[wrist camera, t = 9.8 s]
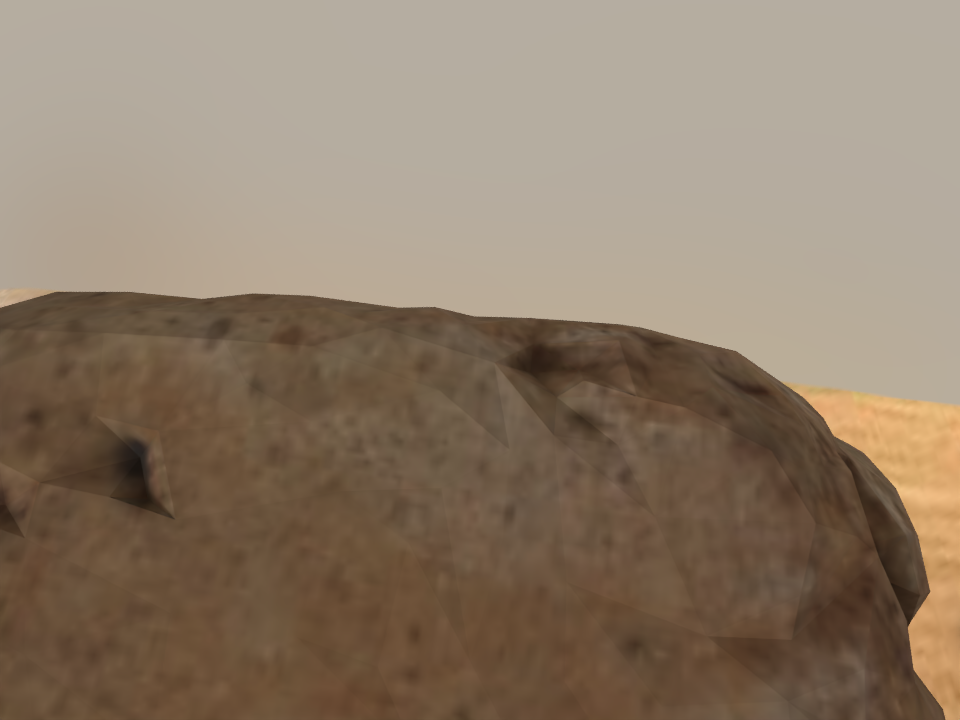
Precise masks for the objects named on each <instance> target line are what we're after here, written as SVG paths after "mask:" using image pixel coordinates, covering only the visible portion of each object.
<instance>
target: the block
mask: <svg viewBox="0 0 960 720" xmlns="http://www.w3.org/2000/svg"><path fill="white" fill-rule="evenodd" d="M929 593H930V589H929V584H928V580H927V575H926V571H925V566H924V562H923V557H922V553H921V548H920V544H919V539H918V535H917V533H916V531H915V529H914V527H913V525H912V522H911V520H910V518H909V516H908V514H907V512H906V509H905V507H904V505H903V503H902V501H901V499H900V496H899V494H898V492H897V490H896V488H895V487H894V486H893V485H892V484H891V482H890V481H889V480H888V479H887V478H886V477H885V476H884V475H883V474H882V472H881V471H880V470H879V469H878V468H877V467H876V466H875V465H874V464H873V463H872V461H871V460H870V459H869V458H868V457H867V456H866V455H865V454H864V453H863V452H861V451H859V450H858V449H856V448H854V447H853V446H851V445H849V444H848V443H846V442H844V441H842V440H840V439H838V438H836V437H834V436H833V434H832V432H831V431H830V429H829V427H828V425H827V424H826V422H825V420H824V418H823V417H822V416H821V415H820V414H819V413H818V412H817V411H816V410H815V409H814V408H813V407H812V406H811V405H810V404H809V403H808V402H807V401H806V400H805V399H804V398H803V397H802V396H800V395H799V394H797V393H796V392H794V391H793V390H792V389H790V388H789V387H787V386H786V385H784V384H783V383H781V382H780V381H779V380H777V379H776V378H774V377H773V376H771V375H770V374H768V373H767V372H766V371H764V370H763V369H761V368H760V367H758V366H757V365H755V364H754V363H752V362H751V361H750V360H748V359H747V358H745V357H744V356H742V355H741V354H739V353H738V352H736V351H733V350H729V349H724V348H720V347H716V346H712V345H708V344H703V343H699V342H695V341H691V340H687V339H683V338H678V337H674V336H670V335H667V334H663V333H659V332H656V331H652V330H648V329H644V328H640V327H633V326H626V325H618V324H606V323H592V322H578V321H563V320H549V319H535V318H507V317H474V316H469V315H465V314H461V313H457V312H453V311H449V310H444V309H440V308H436V307H424V308H423V307H418V308H396V307H388V306H381V305H374V304H366V303H359V302H351V301H344V300H337V299H329V298H321V297H314V296H300V295H275V294H245V295H236V296H227V297H217V298H207V299H196V298H186V297H174V296H164V295H155V294H145V293H134V292H54V293H51V294H47V295H44V296H40V297H37V298H33V299H30V300H26V301H23V302H19V303H16V304H12V305H9V306H5V307H2V308H0V720H945V716H944V712H943V709H942V707H941V706H940V705H939V703H938V702H937V701H936V699H935V698H934V697H933V695H932V694H931V693H930V691H929V690H928V689H927V687H926V686H925V685H924V683H923V682H922V681H921V679H920V678H919V677H918V675H917V674H916V673H915V671H914V670H913V663H912V656H911V649H910V641H909V634H908V626H909V624H910V622H911V620H912V619H913V617H914V616H915V614H916V613H917V611H918V610H919V608H920V607H921V605H922V604H923V602H924V600H925V599H926V597H927V596H928V594H929Z"/></svg>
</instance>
